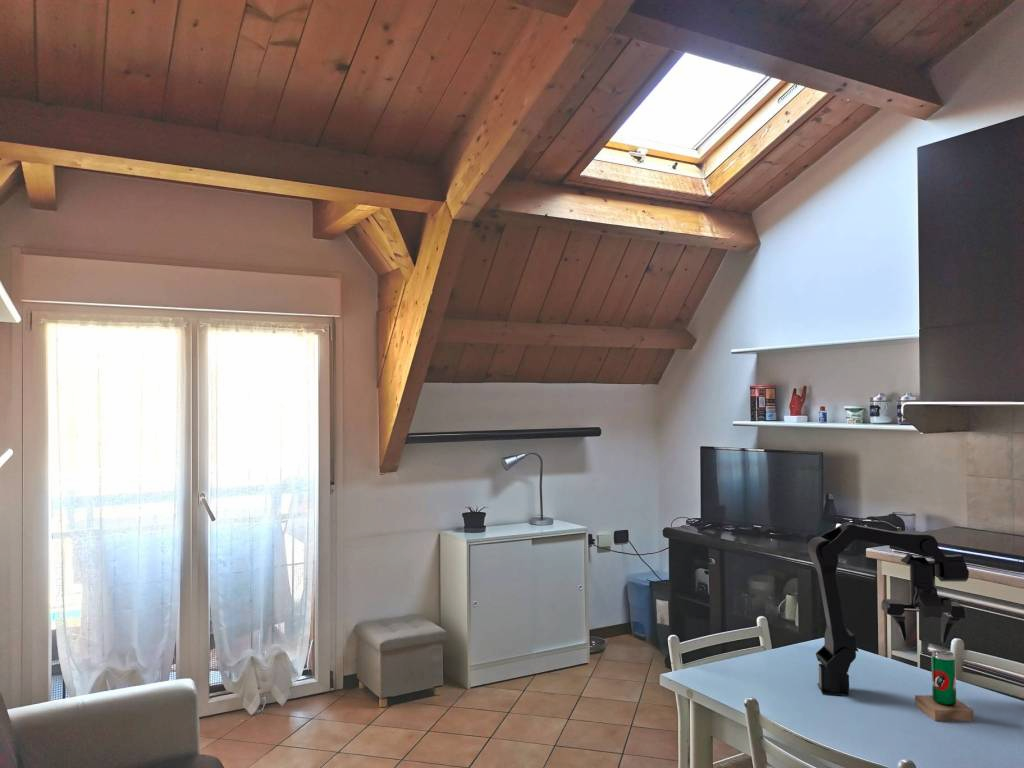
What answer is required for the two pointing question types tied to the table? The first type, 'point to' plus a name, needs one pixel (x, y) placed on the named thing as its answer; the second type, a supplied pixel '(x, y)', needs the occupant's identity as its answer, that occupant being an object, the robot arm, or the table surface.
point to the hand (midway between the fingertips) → (923, 641)
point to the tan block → (943, 709)
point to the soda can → (943, 677)
